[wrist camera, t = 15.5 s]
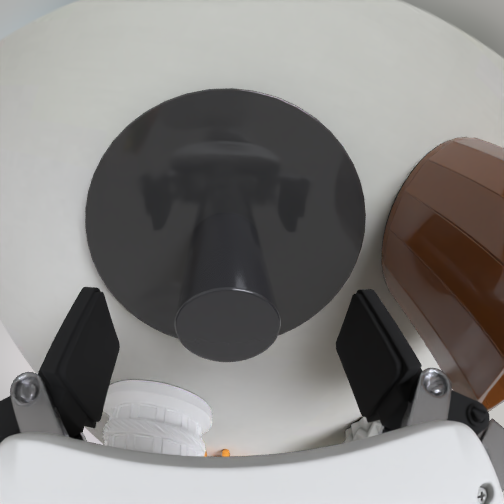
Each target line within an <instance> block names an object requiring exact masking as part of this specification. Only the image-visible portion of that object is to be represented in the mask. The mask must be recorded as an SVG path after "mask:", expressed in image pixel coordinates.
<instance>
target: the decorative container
mask: <svg viewBox="0 0 504 504" xmlns="http://www.w3.org/2000/svg"><path fill="white" fill-rule="evenodd" d="M103 409H104V411H105V413H106V414H107V415H108V416H109V420H108V422H107V423H106V425H105V428H104V429H103V439H104V441H105V442H104V445H105V446H111V447H116V448H122V449H128V450H135V451H141V452H149V453H158V454H168V455H182V456H205V452H206V447H205V444H204V441H203V439H202V438H201V435H202V434H204V433H206V432H207V431H208V430H210V428H211V426H212V411H211V407H210V406H209V405H208V404H207V403H206V402H205V401H204V400H203V399H201V398H200V397H198V396H197V395H195V394H193V393H191V392H189V391H186V390H184V389H182V388H179V387H175V386H172V385H169V384H165V383H159V382H154V381H146V380H126V381H119V382H116V383H113V384H111V385H110V386H109V388H108V392H107V396H106V400H105V404H104V408H103Z"/></svg>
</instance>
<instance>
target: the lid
mask: <svg viewBox="0 0 504 504" xmlns="http://www.w3.org/2000/svg"><path fill="white" fill-rule="evenodd" d="M365 216H366V215H365V202H364V195H363V191H362V187H361V183H360V179H359V177H358V174H357V172H356V169H355V167H354V164H353V162H352V161H351V159H350V157H349V156H348V154H347V152H346V151H345V149H344V147H343V146H342V145H341V144H340V142H339V141H338V140H337V139H336V137H335V136H334V135H333V134H332V133H331V132H330V131H329V130H328V129H327V128H326V127H325V126H324V125H323V124H322V123H321V122H319V121H318V120H317V119H316V118H315V117H313V116H312V115H310V114H309V113H307V112H306V111H304V110H302V109H301V108H299V107H298V106H296V105H294V104H291V103H289V102H287V101H285V100H282V99H280V98H278V97H275V96H271V95H268V94H264V93H260V92H257V91H250V90H242V89H233V88H230V89H208V90H202V91H197V92H192V93H187V94H184V95H181V96H178V97H175V98H173V99H170V100H167V101H165V102H163V103H161V104H159V105H157V106H155V107H153V108H152V109H150V110H148V111H146V112H145V113H143V114H142V115H141V116H139V117H138V118H137V119H135V120H134V121H133V122H132V123H130V124H129V125H128V126H127V127H126V128H125V129H124V130H123V131H122V132H121V133H120V134H119V135H118V136H117V137H116V138H115V139H114V141H113V142H112V143H111V145H110V146H109V148H108V149H107V151H106V152H105V153H104V155H103V156H102V158H101V160H100V162H99V164H98V166H97V168H96V171H95V173H94V175H93V178H92V181H91V185H90V188H89V191H88V197H87V203H86V219H85V223H86V234H87V241H88V246H89V249H90V253H91V256H92V260H93V262H94V264H95V267H96V269H97V271H98V273H99V275H100V277H101V278H102V280H103V282H104V283H105V285H106V287H107V288H108V289H109V291H110V292H111V293H112V294H113V296H114V297H115V298H116V299H117V300H118V301H119V302H120V303H121V304H122V305H123V306H124V307H125V308H126V309H127V310H128V311H129V312H130V313H132V314H133V315H134V316H135V317H137V318H138V319H139V320H141V321H142V322H144V323H146V324H147V325H149V326H150V327H152V328H154V329H156V330H158V331H160V332H162V333H164V334H167V335H170V336H172V337H175V338H178V339H179V340H180V341H181V343H182V344H183V345H184V346H185V347H186V348H187V349H188V350H189V351H191V352H192V353H194V354H196V355H197V356H200V357H202V358H205V359H208V360H212V361H218V362H236V361H242V360H246V359H249V358H252V357H255V356H257V355H259V354H261V353H262V352H264V351H265V350H267V349H268V348H269V347H270V346H271V345H272V344H273V343H274V341H275V340H276V338H277V336H278V335H281V334H283V333H285V332H287V331H290V330H292V329H294V328H296V327H297V326H299V325H301V324H302V323H304V322H306V321H307V320H309V319H310V318H312V317H313V316H314V315H316V314H317V313H318V312H319V311H321V310H322V309H323V308H324V307H325V306H326V305H327V304H328V303H329V302H330V301H331V300H332V299H333V298H334V297H335V295H336V294H337V293H338V292H339V291H340V290H341V288H342V287H343V285H344V284H345V282H346V281H347V279H348V278H349V276H350V274H351V272H352V270H353V268H354V266H355V264H356V262H357V259H358V256H359V253H360V250H361V247H362V242H363V237H364V232H365Z"/></svg>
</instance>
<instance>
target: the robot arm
mask: <svg viewBox="0 0 504 504" xmlns="http://www.w3.org/2000/svg"><path fill="white" fill-rule="evenodd" d="M119 348H120V346H119V340H118V338H117V335H116V332H115V329H114V326H113V323H112V320H111V316H110V313H109V310H108V306H107V303H106V300H105V296H104V293H103V292H100V290H99V289H98V288H92V287H84V288H83V289H82V290H81V292H80V293H79V295H78V297H77V299H76V300H75V302H74V304H73V305H72V307H71V309H70V311H69V313H68V314H67V316H66V318H65V320H64V322H63V324H62V325H61V327H60V329H59V331H58V333H57V335H56V337H55V339H54V341H53V343H52V345H51V347H50V349H49V351H48V353H47V355H46V357H45V359H44V362H43V364H42V366H41V368H40V370H39V373H38V375H37V374H36V373H33V372H26V373H22V374H21V375H19V376H17V377H16V379H15V380H14V381H13V383H12V385H11V389H10V396H9V397H8V398H5V399H3V400H2V401H0V504H504V496H503V493H502V492H503V490H504V428H503V427H502V426H501V425H499V424H498V423H497V422H496V421H495V420H494V419H491V420H490V421H489V413H488V411H487V409H486V407H485V406H484V405H483V404H482V403H480V402H478V401H476V400H473V399H471V398H469V397H467V396H464V395H462V394H460V393H457V392H455V391H453V390H452V384H451V381H450V379H449V377H448V376H447V375H446V374H445V373H444V372H443V371H441V370H439V369H436V368H428V369H425V370H424V371H422V369H421V368H420V367H421V366H422V365H421V363H420V362H419V360H418V358H417V357H416V355H415V353H414V352H413V350H412V348H411V347H410V345H409V343H408V342H407V340H406V339H405V337H404V335H403V334H402V332H401V331H400V329H399V327H398V326H397V324H396V323H395V321H394V320H393V318H392V317H391V315H390V314H389V312H388V311H387V309H386V308H385V306H384V305H383V303H382V302H381V300H380V299H379V297H378V296H377V294H376V293H375V291H374V290H372V289H366V290H358V291H357V293H356V294H354V295H353V296H352V299H351V302H350V305H349V308H348V311H347V314H346V317H345V320H344V322H343V325H342V328H341V330H340V333H339V336H338V338H337V341H336V350H337V353H338V355H339V358H340V360H341V363H342V365H343V368H344V370H345V373H346V375H347V378H348V381H349V383H350V386H351V388H352V391H353V394H354V396H355V399H356V402H357V404H358V407H359V410H360V412H361V415H362V416H363V417H366V419H367V422H368V423H370V422H374V421H377V420H380V422H381V424H382V425H381V428H380V430H379V433H378V435H375V436H371V437H367V438H363V439H359V440H355V441H351V442H347V443H342V444H337V445H332V446H327V447H322V448H316V449H310V450H303V451H296V452H288V453H279V454H269V455H256V456H233V457H204V456H182V455H168V454H158V453H149V452H141V451H135V450H128V449H122V448H116V447H111V446H105V445H100V444H96V443H91V442H87V440H86V438H85V436H84V435H83V433H82V432H83V428H84V426H87V427H92V428H95V426H96V422H99V421H100V420H101V416H102V412H103V408H104V404H105V400H106V396H107V392H108V388H109V384H110V381H111V377H112V373H113V370H114V366H115V363H116V359H117V356H118V353H119Z"/></svg>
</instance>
